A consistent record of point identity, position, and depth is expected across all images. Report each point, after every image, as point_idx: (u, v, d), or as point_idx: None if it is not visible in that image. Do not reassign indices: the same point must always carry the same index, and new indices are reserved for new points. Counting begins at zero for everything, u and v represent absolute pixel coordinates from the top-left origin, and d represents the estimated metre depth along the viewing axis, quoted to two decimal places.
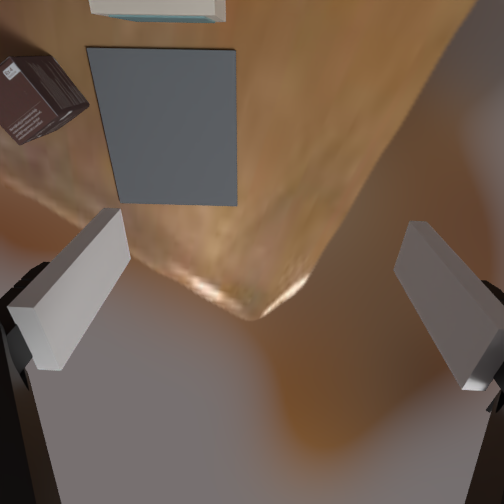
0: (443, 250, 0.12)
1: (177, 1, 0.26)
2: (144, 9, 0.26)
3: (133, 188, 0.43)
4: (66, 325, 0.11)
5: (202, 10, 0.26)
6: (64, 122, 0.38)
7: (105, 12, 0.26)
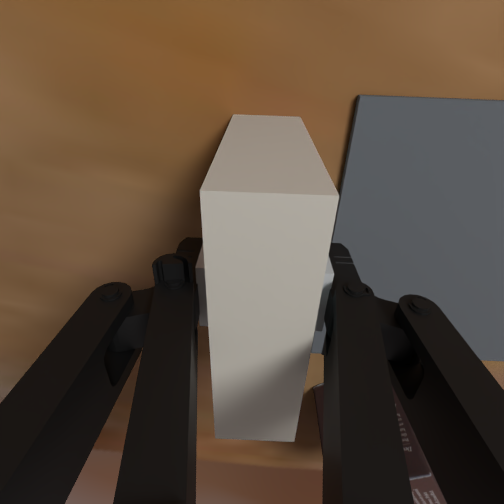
0: None
1: (287, 298, 0.09)
2: (297, 366, 0.10)
3: None
4: None
5: (318, 235, 0.07)
6: None
7: (295, 424, 0.12)
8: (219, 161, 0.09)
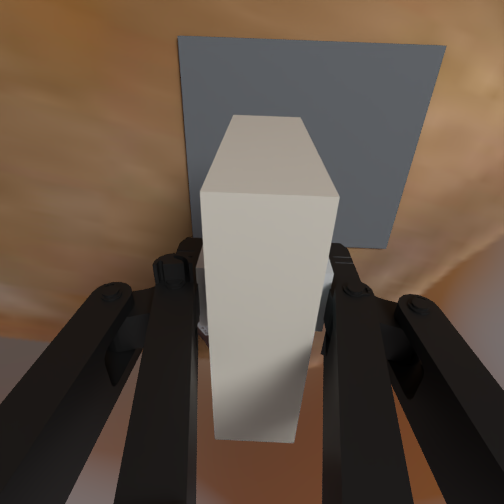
0: None
1: (287, 299, 0.09)
2: (297, 367, 0.10)
3: (367, 226, 0.29)
4: None
5: (319, 236, 0.07)
6: None
7: (295, 426, 0.12)
8: (219, 162, 0.09)
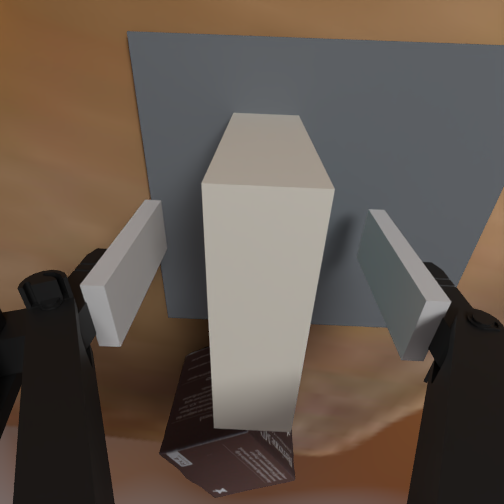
0: (393, 234, 0.13)
1: (285, 288, 0.09)
2: (294, 356, 0.10)
3: None
4: (124, 305, 0.12)
5: (315, 227, 0.08)
6: None
7: (292, 415, 0.12)
8: (220, 156, 0.09)
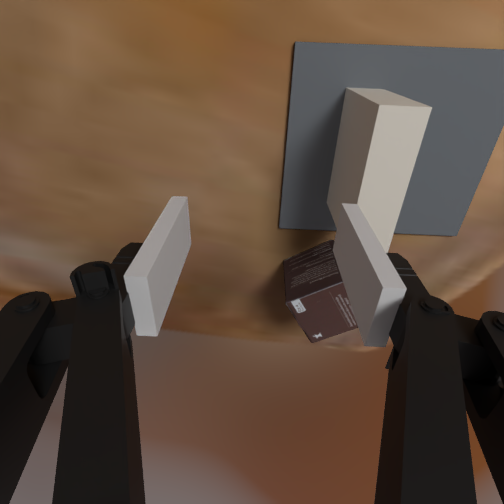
0: (362, 227, 0.14)
1: (402, 157, 0.20)
2: (399, 198, 0.22)
3: (442, 214, 0.32)
4: (160, 296, 0.12)
5: (421, 125, 0.19)
6: None
7: (390, 240, 0.23)
8: (372, 99, 0.20)
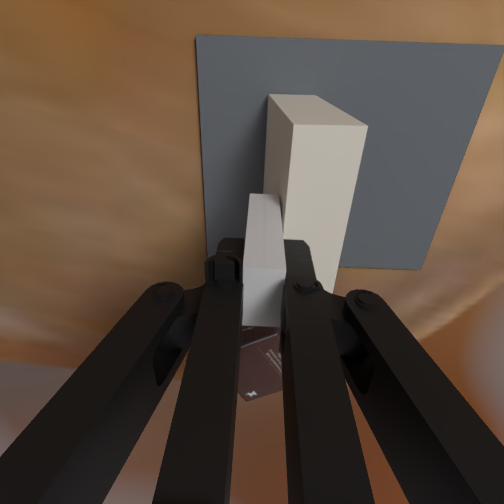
0: (272, 215, 0.14)
1: (334, 194, 0.14)
2: (336, 246, 0.16)
3: (402, 246, 0.26)
4: None
5: (355, 150, 0.13)
6: None
7: None
8: (289, 114, 0.14)
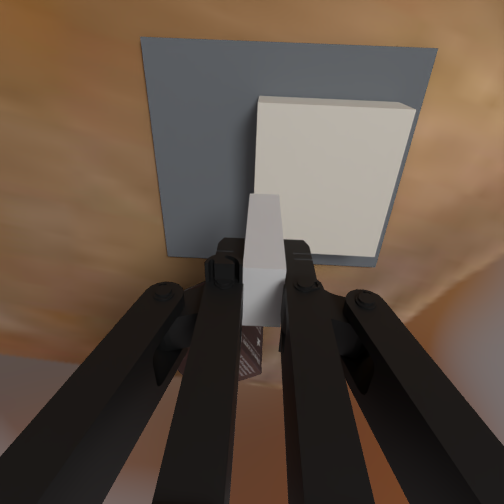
0: (272, 215, 0.14)
1: None
2: None
3: None
4: None
5: None
6: None
7: None
8: (378, 107, 0.19)
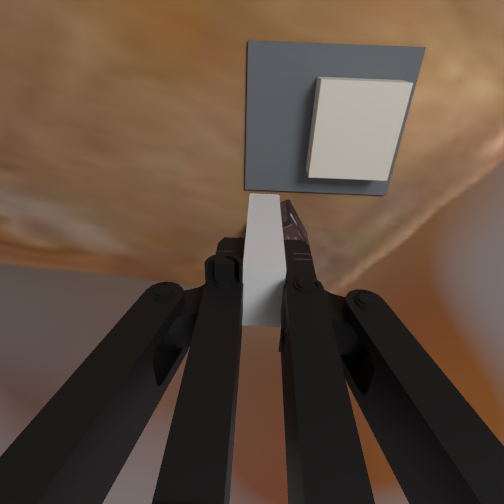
0: (272, 215, 0.14)
1: None
2: None
3: None
4: None
5: None
6: (300, 223, 0.43)
7: None
8: (391, 81, 0.32)
